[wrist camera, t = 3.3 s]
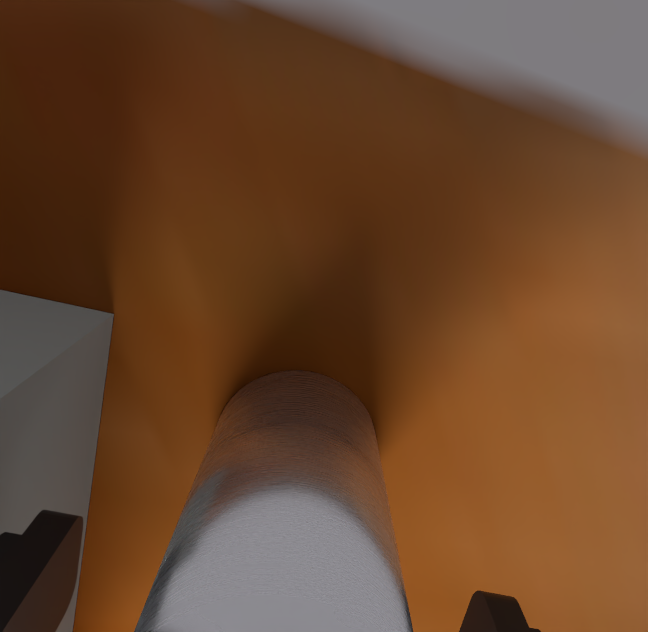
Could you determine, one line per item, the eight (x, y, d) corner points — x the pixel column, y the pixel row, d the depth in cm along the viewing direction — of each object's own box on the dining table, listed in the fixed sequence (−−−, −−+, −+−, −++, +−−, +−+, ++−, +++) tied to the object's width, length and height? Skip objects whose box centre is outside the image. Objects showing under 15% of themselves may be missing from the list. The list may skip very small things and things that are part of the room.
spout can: (394, 389, 17) (498, 731, 7) (355, 528, 18) (394, 987, 8) (230, 354, 17) (87, 658, 7) (202, 499, 18) (47, 938, 8)
